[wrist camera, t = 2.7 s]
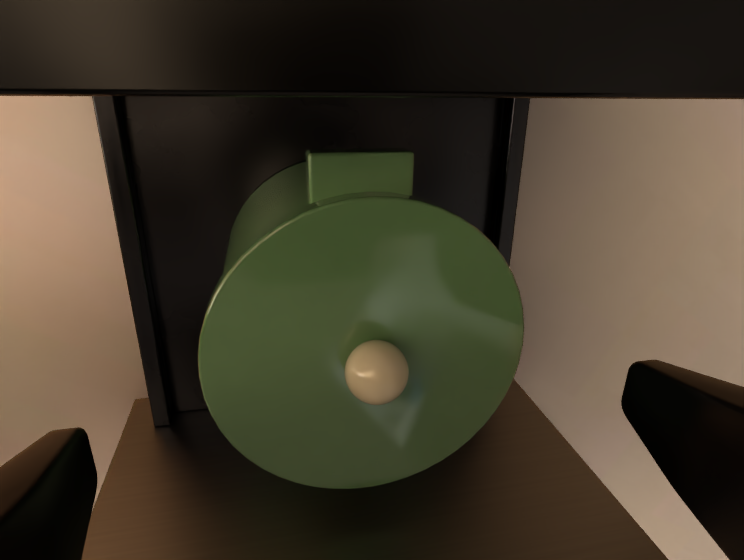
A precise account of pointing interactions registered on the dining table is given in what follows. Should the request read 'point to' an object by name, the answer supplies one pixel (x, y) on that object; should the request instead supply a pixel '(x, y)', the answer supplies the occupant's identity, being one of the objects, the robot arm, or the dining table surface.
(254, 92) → the black open cubby
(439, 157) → the drawer
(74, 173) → the dining table surface
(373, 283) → the pot
